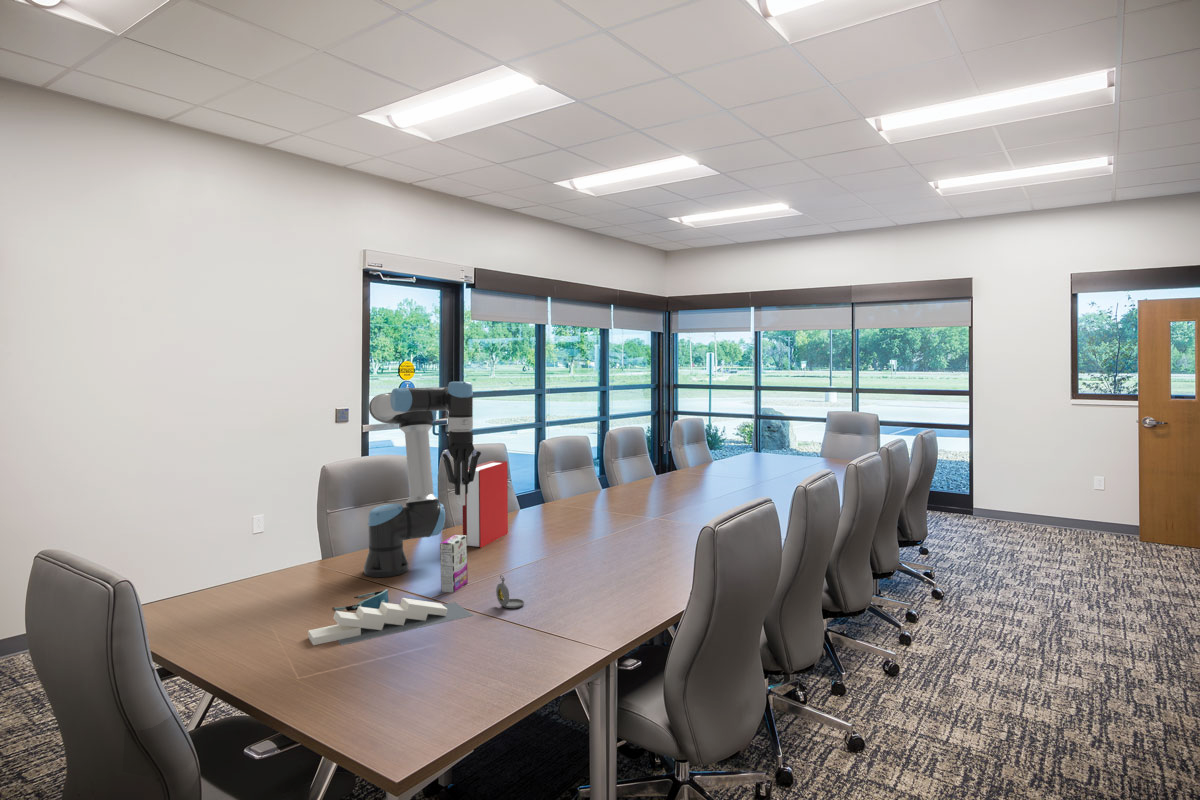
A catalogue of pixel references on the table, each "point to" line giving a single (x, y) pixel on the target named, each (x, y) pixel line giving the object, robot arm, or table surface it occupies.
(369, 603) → the sunglasses
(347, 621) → the domino
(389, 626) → the mat
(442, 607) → the domino
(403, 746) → the table surface
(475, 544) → the book
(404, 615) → the domino
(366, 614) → the domino
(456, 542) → the candy bar box
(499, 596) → the pocket watch
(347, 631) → the domino
